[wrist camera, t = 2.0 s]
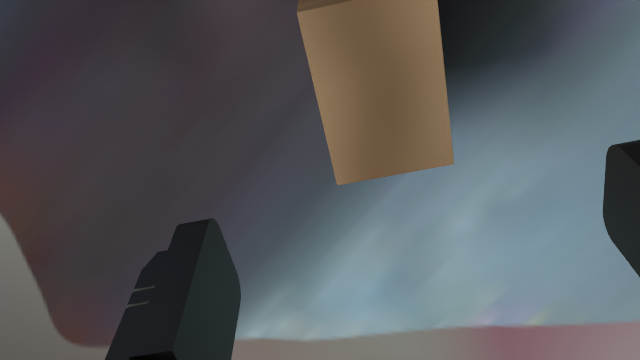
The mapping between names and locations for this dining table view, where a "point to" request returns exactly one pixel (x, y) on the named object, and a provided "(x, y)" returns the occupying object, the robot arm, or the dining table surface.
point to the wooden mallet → (378, 84)
